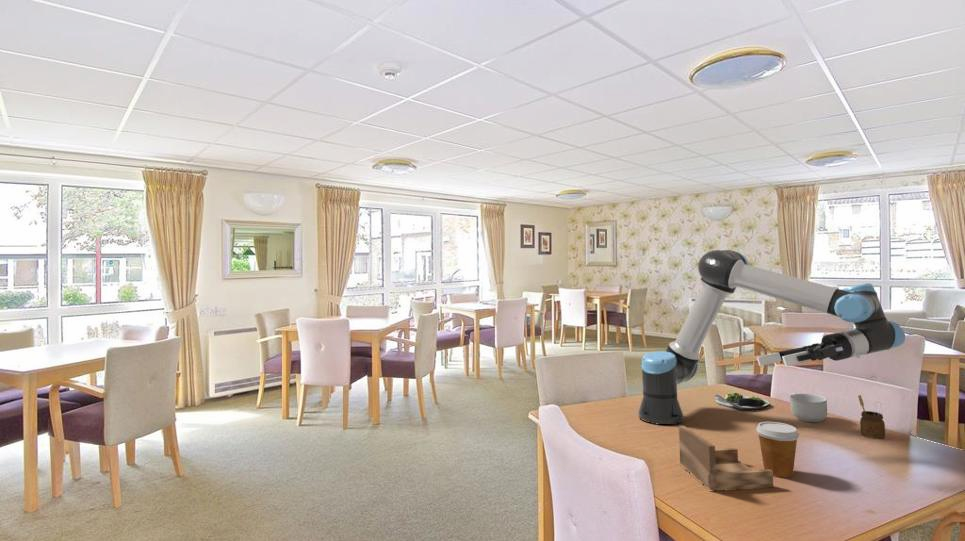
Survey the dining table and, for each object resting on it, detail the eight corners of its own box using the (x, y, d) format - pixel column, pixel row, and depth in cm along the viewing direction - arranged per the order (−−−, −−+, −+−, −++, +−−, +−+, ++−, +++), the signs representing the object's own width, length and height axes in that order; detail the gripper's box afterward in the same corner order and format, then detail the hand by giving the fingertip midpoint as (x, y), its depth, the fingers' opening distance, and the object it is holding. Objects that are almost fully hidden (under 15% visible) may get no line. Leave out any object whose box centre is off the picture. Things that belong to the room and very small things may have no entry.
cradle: (735, 462, 128) (734, 422, 128) (773, 487, 113) (771, 442, 113) (680, 465, 127) (678, 425, 127) (710, 491, 112) (709, 446, 112)
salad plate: (701, 402, 187) (700, 390, 187) (730, 395, 195) (730, 385, 195) (746, 414, 170) (745, 402, 170) (776, 407, 177) (776, 395, 177)
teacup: (834, 425, 155) (833, 401, 155) (798, 424, 157) (797, 400, 157) (813, 412, 169) (812, 390, 169) (780, 411, 171) (780, 390, 171)
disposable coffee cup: (749, 466, 126) (748, 422, 126) (782, 463, 126) (780, 420, 126) (774, 481, 116) (772, 434, 116) (809, 479, 117) (808, 432, 117)
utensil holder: (879, 440, 141) (878, 401, 141) (855, 434, 146) (854, 396, 146) (889, 436, 143) (887, 398, 143) (865, 430, 149) (863, 393, 149)
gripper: (882, 357, 120) (801, 375, 121) (819, 358, 145) (753, 373, 145) (871, 329, 122) (791, 347, 122) (811, 334, 146) (745, 349, 147)
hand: (770, 361), depth 134 cm, fingers open, 13 cm apart
